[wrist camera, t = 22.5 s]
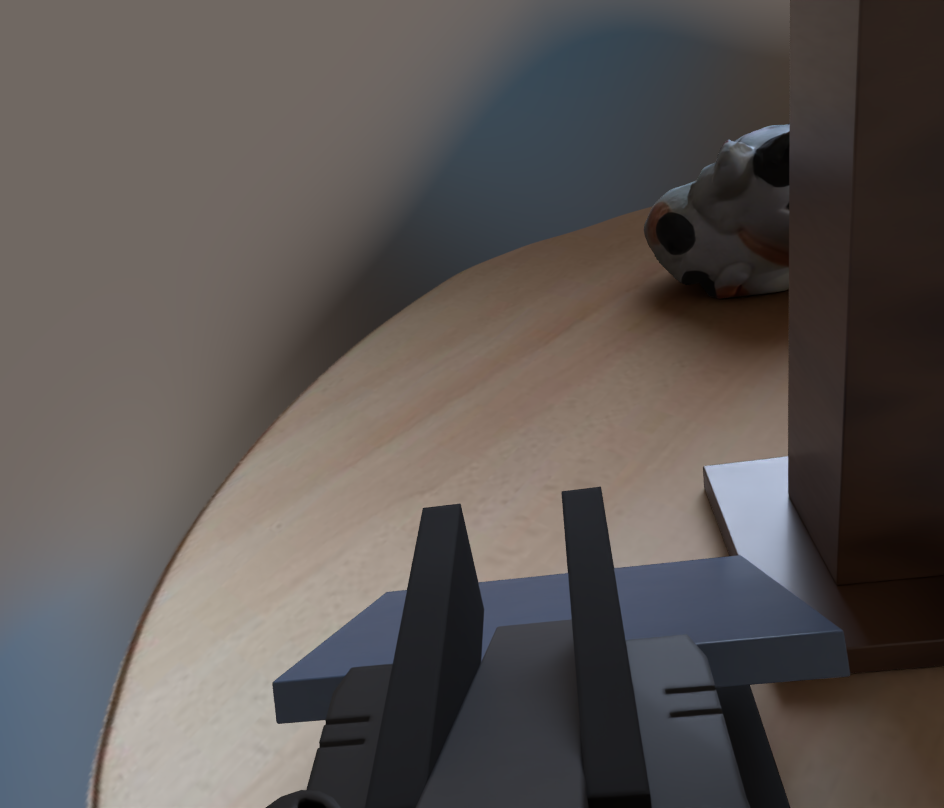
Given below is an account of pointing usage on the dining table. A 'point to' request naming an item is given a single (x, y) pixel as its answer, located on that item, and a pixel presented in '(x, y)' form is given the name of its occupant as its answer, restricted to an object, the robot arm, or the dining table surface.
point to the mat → (751, 748)
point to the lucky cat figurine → (730, 220)
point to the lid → (571, 669)
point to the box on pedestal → (859, 338)
